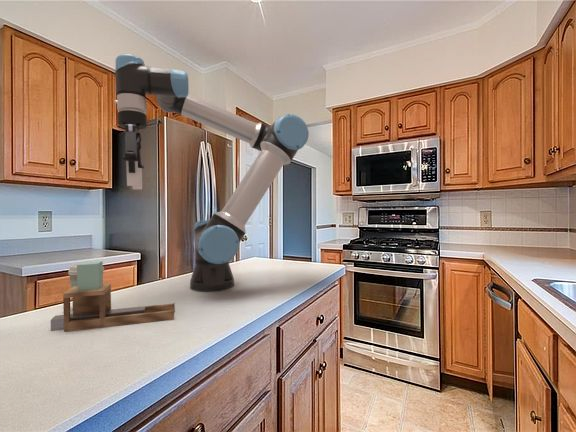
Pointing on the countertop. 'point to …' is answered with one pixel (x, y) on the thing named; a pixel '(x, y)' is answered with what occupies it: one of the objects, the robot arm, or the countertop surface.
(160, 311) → the track
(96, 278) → the block
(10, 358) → the countertop surface
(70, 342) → the countertop surface
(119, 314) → the bar
